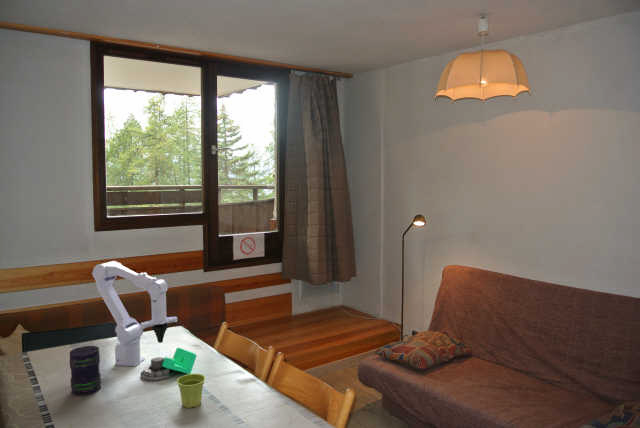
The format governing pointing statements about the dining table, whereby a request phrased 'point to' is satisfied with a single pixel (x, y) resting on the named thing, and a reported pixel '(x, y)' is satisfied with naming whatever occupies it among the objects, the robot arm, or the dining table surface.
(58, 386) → the dining table surface
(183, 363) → the camera mount
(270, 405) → the dining table surface
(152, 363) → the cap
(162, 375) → the grey knurled ring
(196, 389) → the plant pot
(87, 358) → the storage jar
